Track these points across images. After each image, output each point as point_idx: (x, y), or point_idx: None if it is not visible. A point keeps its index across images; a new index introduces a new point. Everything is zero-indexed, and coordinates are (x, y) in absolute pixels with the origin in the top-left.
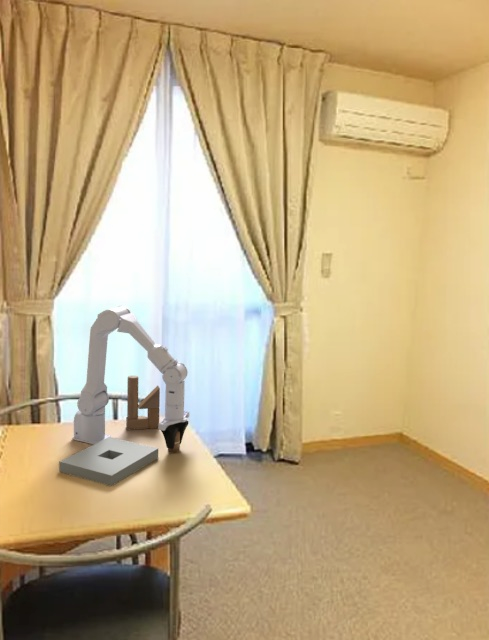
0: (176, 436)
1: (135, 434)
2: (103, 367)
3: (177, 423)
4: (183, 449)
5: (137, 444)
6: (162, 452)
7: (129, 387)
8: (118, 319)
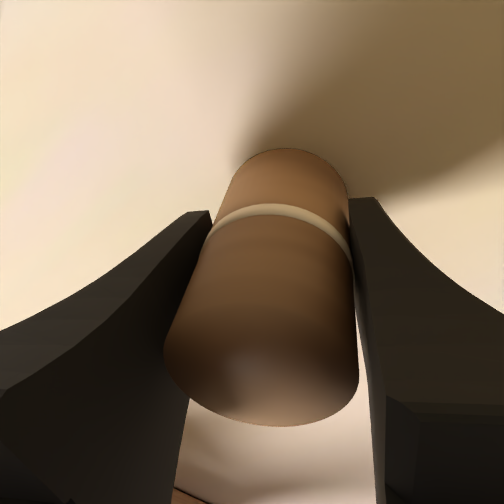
0: (307, 283)
1: (236, 478)
2: None
3: (112, 492)
4: (190, 153)
5: None
6: None
7: None
8: None
